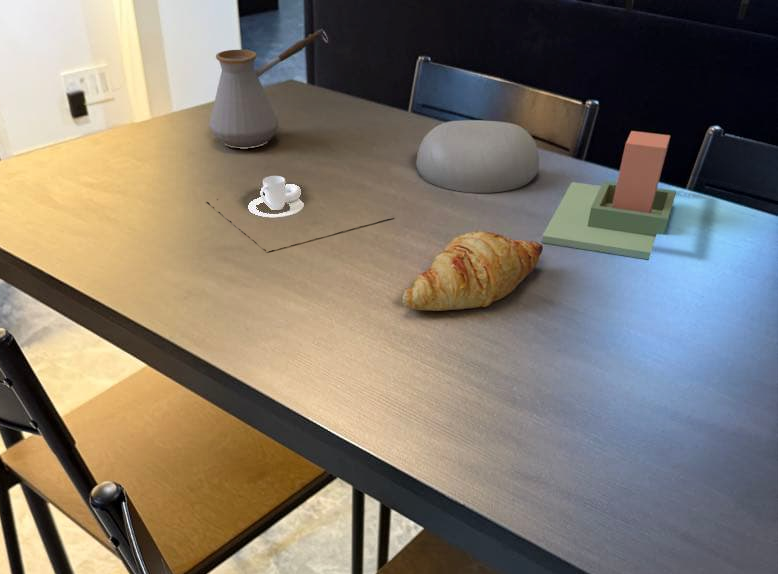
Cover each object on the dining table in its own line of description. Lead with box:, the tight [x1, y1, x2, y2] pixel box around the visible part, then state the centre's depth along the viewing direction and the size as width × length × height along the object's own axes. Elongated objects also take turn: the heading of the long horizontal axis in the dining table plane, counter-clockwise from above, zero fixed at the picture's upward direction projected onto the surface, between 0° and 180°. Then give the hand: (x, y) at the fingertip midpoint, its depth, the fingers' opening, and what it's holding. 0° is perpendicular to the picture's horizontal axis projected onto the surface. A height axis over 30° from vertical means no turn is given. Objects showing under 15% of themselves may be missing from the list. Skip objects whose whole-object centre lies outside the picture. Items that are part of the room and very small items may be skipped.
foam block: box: [612, 130, 671, 213], centre depth 101 cm, size 5×5×10 cm
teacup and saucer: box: [248, 175, 304, 218], centre depth 108 cm, size 9×8×4 cm
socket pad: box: [541, 180, 677, 260], centre depth 104 cm, size 20×20×4 cm
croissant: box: [402, 230, 543, 312], centre depth 90 cm, size 21×10×8 cm, turn 127°
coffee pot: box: [208, 28, 330, 147], centre depth 125 cm, size 21×12×15 cm, turn 115°
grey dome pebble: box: [415, 119, 540, 194], centre depth 116 cm, size 19×7×16 cm
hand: (684, 7), depth 94 cm, fingers open, 13 cm apart
